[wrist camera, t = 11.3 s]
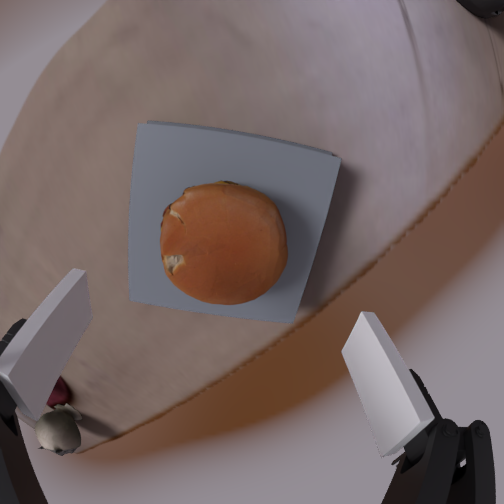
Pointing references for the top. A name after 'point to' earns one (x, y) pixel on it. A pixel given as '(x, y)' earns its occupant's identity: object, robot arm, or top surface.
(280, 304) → the stacking base
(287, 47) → the top surface
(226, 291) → the burger
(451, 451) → the robot arm
